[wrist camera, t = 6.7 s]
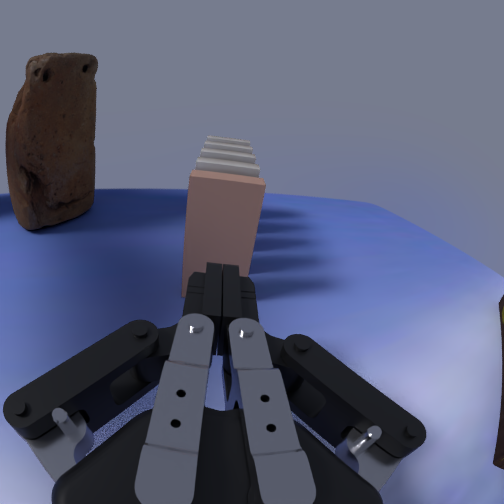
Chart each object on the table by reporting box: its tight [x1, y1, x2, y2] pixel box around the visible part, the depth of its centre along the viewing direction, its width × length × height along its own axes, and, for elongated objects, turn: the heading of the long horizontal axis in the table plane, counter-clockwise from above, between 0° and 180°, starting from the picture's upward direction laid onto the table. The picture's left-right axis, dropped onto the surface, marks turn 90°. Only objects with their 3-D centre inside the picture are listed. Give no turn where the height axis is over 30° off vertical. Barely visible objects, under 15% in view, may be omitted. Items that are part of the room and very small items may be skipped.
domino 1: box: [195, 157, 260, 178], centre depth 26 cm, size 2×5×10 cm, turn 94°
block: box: [6, 53, 98, 230], centre depth 26 cm, size 11×8×20 cm
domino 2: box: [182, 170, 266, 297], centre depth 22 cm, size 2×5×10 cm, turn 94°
